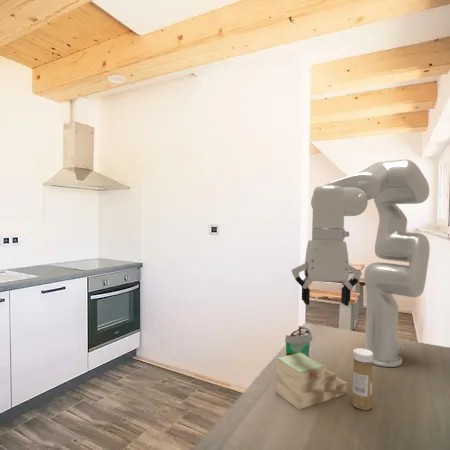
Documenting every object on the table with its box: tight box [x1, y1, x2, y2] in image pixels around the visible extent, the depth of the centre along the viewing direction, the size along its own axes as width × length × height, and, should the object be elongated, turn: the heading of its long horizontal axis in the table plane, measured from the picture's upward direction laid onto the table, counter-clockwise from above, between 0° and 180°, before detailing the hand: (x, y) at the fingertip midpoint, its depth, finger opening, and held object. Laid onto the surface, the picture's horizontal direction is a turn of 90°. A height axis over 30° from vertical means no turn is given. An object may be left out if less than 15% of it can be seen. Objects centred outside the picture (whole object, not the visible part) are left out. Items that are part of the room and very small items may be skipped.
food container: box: [284, 325, 313, 357], centre depth 106 cm, size 12×6×10 cm, turn 148°
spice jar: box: [351, 347, 373, 411], centre depth 83 cm, size 5×5×14 cm
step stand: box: [275, 353, 348, 410], centre depth 88 cm, size 16×10×9 cm, turn 119°
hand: (325, 303), depth 85 cm, fingers open, 9 cm apart
